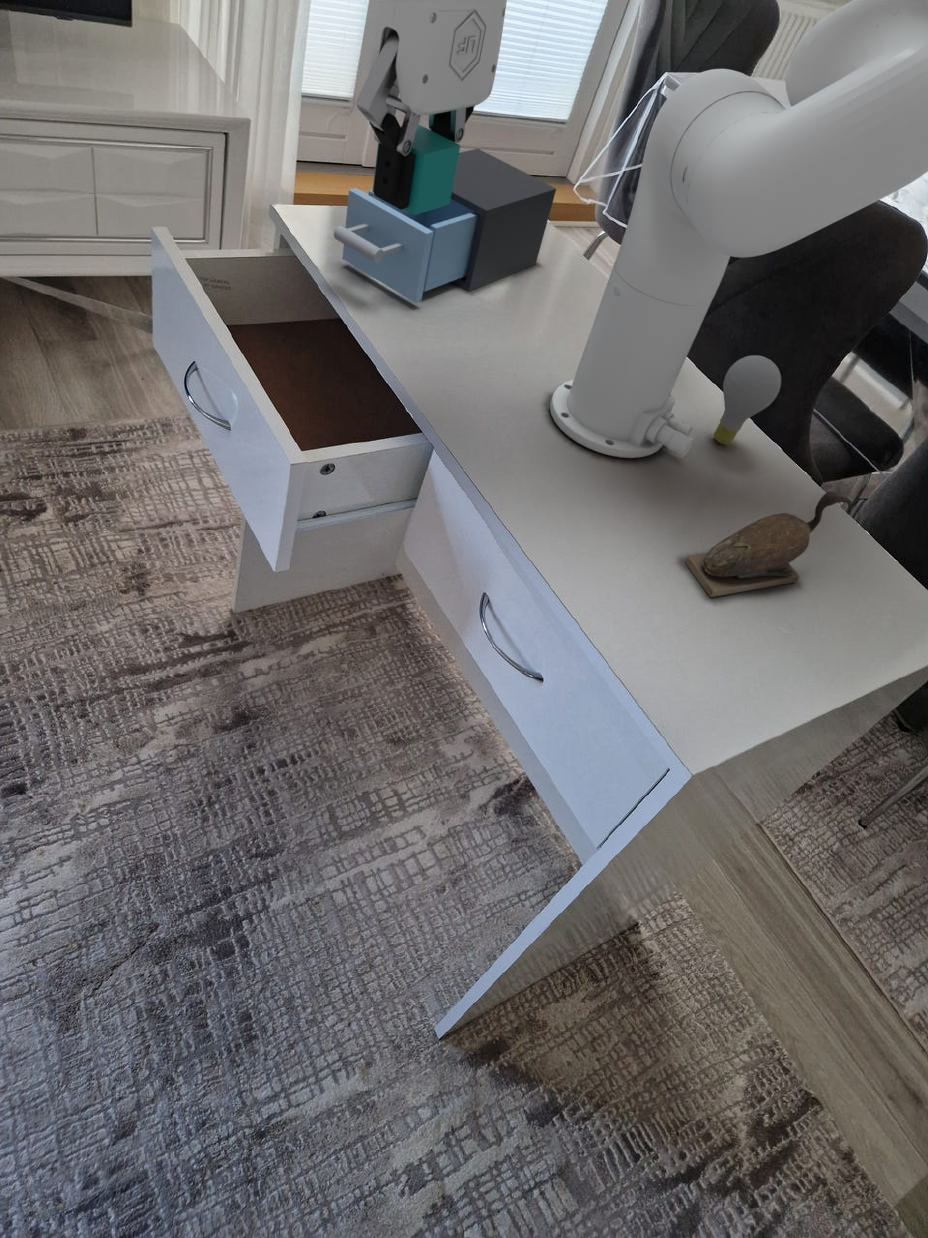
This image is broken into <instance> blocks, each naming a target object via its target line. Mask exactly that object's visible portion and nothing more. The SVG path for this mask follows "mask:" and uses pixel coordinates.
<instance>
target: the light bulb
mask: <svg viewBox="0 0 928 1238" xmlns="http://www.w3.org/2000/svg"><path fill="white" fill-rule="evenodd" d="M781 385H782V376H781V371H780V369H779V368H778V366H777V365H776V363H775V362H773V361H772V360H771V359H769V358H767V357H766V356H762V355H759V354H758V355H757V354H756V355H753V354H752V355H747V356H744V357H742V358H739V359H738V360H737V361H736V362H734V363H733V364H732V365H731V366H730V367H729V368H728V370H727V371H726V374H725V376H724V379H723V384H722V394H723V403H724V412H723V414H722V416H721V417H720V420H719V423H718V424H717V425H718V426H717V427H716V429H715V430H714V433H713V438H714V439H715V440H716V441H717V442H718V444H721V445H729V444H732V442H733V441H734V439H735V437H736V436H737V433H738V432H739V431H740V430H741V429H742V427H743V425H744V423H745V422H746V421H747V420H748V419H750V418H751V417H753V416H755V415H757V414H758V413H760V412H762V411H763V410H765V409H766V408H768V407H769V406H771V404H773V402H774V401H775V400H776V399H777V396H778V395H779V393H780V390H781Z"/></svg>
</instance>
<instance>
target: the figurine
mask: <svg viewBox="0 0 928 1238" xmlns="http://www.w3.org/2000/svg"><path fill="white" fill-rule="evenodd" d="M839 503H844V504H847V506H848V508H847V512H846V515H850V513H851V511H852V507H853V502H852V500H851V499H850V498H849V497H847V496H845V495H842V494H838V493H836V492H835V491H827V492H826V493H824V494H823V495H822V497H820V499H819V501H818V502H817V504H816V506H815V510H814V517H813V518H812V519H811V520H810V521H807V522H806V521H804V520H803V519H801V518H800V517H798V516H797V515H794V514H791V513H788V512H780V513H775V514H771V515H768V516H764V517H762V518H760V519H758V520H756V521H753V522H751V523H750V524H748V525H746V526H744V527H743V528H741V529H739V530H737V531H736V532H734V533H732V534H730V535H729V536H727V537H725V538H724V539H722V540H721V541H719V542H718V543H716V544H715V545H714V546H712V547H711V549H709V551H708V552H704V553H699V554H698V553H697V554H692V555H691V554H690V555H687V557H686V559H685V561H684V563H685V564H686V566H687V568H688V569H689V570H690V571H691V573H692V574H693V576H694V577H695V578H696V580H697V581H698V583H699V584H700V585H701V587H702V588H703V589H704V590H705V592H706V593H707V595H708V596H709V597H710V598H714V597H720V596H724V595H725V596H726V595H731V594H735V593H736V594H737V593H742V592H747V591H753V590H759V589H764V588H769V587H775V586H781V585H787V584H792V583H793V584H794V583H796V582H797V581H798V579H799V578H800V575H799V574H798V573H797V572H796V570H795V569H794V568H793V567H792V566H791V564H789V563H791V562H792V561H794V560H796V559H797V558H799V557H800V556H801V555H803V553H805V552H806V550H807V549H808V547H809V545H810V538H811V533H812V532H813V531H814V530H815V529H816V528H817V527H818V525H819V524H820V523H821V520H822V516H823V512H824V510H825V509H826V508H827V507H829V506H833V505H836V504H839Z"/></svg>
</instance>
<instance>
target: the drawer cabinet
mask: <svg viewBox="0 0 928 1238" xmlns="http://www.w3.org/2000/svg"><path fill="white" fill-rule="evenodd" d="M556 191H557V188H556V187H554V186H552V185H550V184H548V183H546V182H545V181H543V180H540V179H538V178H537V177H534V176H533V175H531V174H529V173H528V172H526V171H523V170H521V169H519V168H517V167H515V166H514V165H511V164H509V163H507V162H505V161H503V160H502V159H499V158H498V157H495V156H493V155H492V154H490V153H488V152H486V151H484V150H482V149H480V148H475V149H469V150H465V151H461V152H459V156H458V161H457V166H456V172H455V177H454V182H453V188H452V193H451V198H450V199H452V200H454V201H456V202H458V203H459V204H461V205H463V206H465V207H467V208H469V209H471V210H472V211H474V212H476V213H478V214H480V217H479V221H478V226H477V231H476V236H475V240H474V245H473V250H472V254H471V259H470V264H469V268H468V273H467V276H464V277H461V278H459V279H456V280H454V281H451V282H452V283H453V284H455V285H457V286H459V287H461V288H462V289H464V290H465V291H467V292H472V291H475V290H476V289H479V288H481V287H483V286H487V285H488V284H490V283H493V282H496V281H498V280H501V279H503V278H505V277H508V276H510V275H513V274H515V273H517V272H520V271H522V270H525V269H527V268H529V267H532V266H535V265H536V264H537V262H538V257H539V254H540V249H541V246H542V243H543V239H544V236H545V232H546V229H547V224H548V221H549V217H550V213H551V211H552V207H553V203H554V199H555V195H556Z"/></svg>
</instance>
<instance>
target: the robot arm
mask: <svg viewBox="0 0 928 1238" xmlns="http://www.w3.org/2000/svg"><path fill="white" fill-rule="evenodd" d="M507 2H508V0H375V5H374V9H373V18H372V22H371V23H372V24H371V31H370V40H369V49H368V50H369V51H368V62H367V63H368V64H367V78H366V80H365V82H364V84H363V86H362V88H361V90H360V92H359V93H358V96H357V99H356V108H357V109H358V110H359V112H360V113H361V114H362V115H363V116H364V117H365V118H366V120H368V123H369V125H370V127H371V128H372V130H373V132H374V134H373V138H374V141H375V142H376V143H377V144H378V143H379V147H378V146H377V149H378V155H377V154H376V158H377V164H376V163H375V166H376V172H375V171H374V175H375V180H374V179H373V183H374V189H373V188H372V190H373V191H374V194H375V196H376V197H378V198H380V199H382V200H384V201H385V202H387V203H389V204H391V205H393V206H395V207H397V208H398V209H401V210H402V209H405V208H407V207H408V205H409V198H410V192H411V185H412V178H413V172H414V165H415V159H416V155H414V154H412V153H410V151H411V149H412V146H413V142H414V138H415V135H416V131H417V128H418V124H419V125H420V120H421V117H422V116H428V129H429V130H431V131H433V132H435V133H437V134H439V135H441V136H443V137H445V138H447V139H449V140H451V141H453V142H455V143H457V144H460V143H461V142H462V140H463V139H464V136H465V132H466V124H467V122H468V121H469V119H470V117H471V116H472V114H473V112H474V110H475V107H476V106H477V105H480V104H482V103H483V102H486V100H487V99H488V98H489V97H490V96H491V94H492V91H493V87H494V83H495V79H496V78H495V77H496V72H497V68H498V63H499V56H500V49H501V44H502V39H503V31H504V23H505V17H506V11H507V10H506V9H507ZM786 68H787V69H786V73H785V91H786V94H787V99H788V101H789V104H790V107H788V108H785V107H784V105H783V104H782V103H781V102H780V101H779V100H778V99H777V98H776V97H775V96H773V95H772V94H771V93H770V92H769V91H768V90H767V89H766V88H765V87H764V86H762V85H761V84H760V83H759V82H758V81H757V80H756V79H753V78H752V77H750V76H749V75H747V74H745V73H743V72H741V71H737V70H735V69H734V70H733V69H728V68H713V69H708V70H704V71H702V72H699V73H696V74H695V75H693V76H691V77H689V78H687V79H686V80H685V81H684V82H682V83H680V85H679V86H677V87H676V89H673V91H672V92H671V94H670V95H669V96H668V97H667V99H666V100H665V101H664V102H663V104H662V106H661V107H660V109H659V111H658V113H657V115H656V117H655V119H654V121H653V123H652V125H651V126H652V127H651V128H650V132H649V134H648V138H647V141H646V145H645V149H644V153H643V157H642V158H643V159H642V163H641V167H640V173H639V178H638V183H637V186H636V187H637V188H636V192H635V196H634V199H633V204H632V208H631V211H630V215H629V218H628V222H627V226H626V228H625V231H624V234H623V237H622V240H621V243H620V245H619V248H618V251H617V255H616V258H615V261H614V263H613V265H612V268H611V271H610V274H609V277H608V280H607V282H606V286H605V289H604V291H603V294H602V297H601V300H600V303H599V306H598V309H597V312H596V314H595V317H594V319H593V324H592V326H591V329H590V331H589V335H588V337H587V341H586V343H585V346H584V349H583V351H582V352H583V353H582V354H581V358H580V361H579V363H578V366H577V369H576V373H575V375H574V378H573V379H570V380H568V381H565V382H563V383H562V384H560V385H559V386H557V387H556V389H555V390H554V391H553V394H552V396H551V399H550V403H549V411H550V415H551V417H552V419H553V421H554V423H555V424H556V425H557V427H558V428H559V429H560V430H561V431H562V432H563V433H564V434H565V435H566V436H567V437H569V438H570V439H572V440H573V441H575V442H576V443H577V444H579V445H581V446H583V447H585V448H586V449H589V450H591V451H594V452H596V453H600V454H603V455H606V456H609V457H615V458H623V459H624V458H625V459H635V458H644V457H647V456H650V455H653V454H654V453H657V452H658V451H659V450H661V448H662V447H663V446H664V447H666V448H667V449H668V450H670V451H671V452H673V453H675V454H677V455H678V456H680V457H681V458H684V457H685V456H686V455H687V453H688V452H689V451H690V450H691V448H692V446H693V445H694V439H693V438H691V437H689V436H690V434H691V433H692V432H693V427H692V426H691V425H689V424H688V423H686V422H684V421H681V420H679V419H678V418H676V417H675V413H673V412H672V410H673V408H674V406H675V404H676V401H677V398H675V397H673V396H671V395H670V394H671V392H672V390H673V388H674V386H675V383H676V381H677V379H678V377H679V374H680V373H681V370H682V368H683V366H684V364H685V361H686V359H687V357H688V355H689V352H690V350H691V348H692V345H693V344H694V341H695V339H696V337H697V335H698V333H699V330H700V328H701V325H702V323H703V321H704V319H705V317H706V315H707V313H708V310H709V308H710V306H711V304H712V301H713V299H714V298H715V296H716V294H717V292H718V289H719V287H720V285H721V282H722V280H723V277H724V275H725V273H726V269H727V267H728V265H729V261H730V258H731V257H733V258H743V259H744V258H752V257H759V256H763V255H766V254H769V253H772V252H776V251H779V250H780V249H783V248H785V247H787V246H790V245H791V244H794V243H796V242H798V241H800V240H802V239H804V238H806V237H809V236H810V235H812V234H815V233H816V232H819V231H820V230H823V229H824V228H826V227H828V226H830V225H832V224H834V223H837V222H839V221H841V220H842V219H844V218H846V217H848V216H850V215H852V214H854V213H856V212H858V211H860V210H862V209H864V208H867V207H868V206H870V205H872V204H874V203H876V202H878V201H879V200H882V199H884V198H886V197H888V196H891V195H892V194H893V193H895V192H898V191H899V190H901V189H902V188H905V187H906V186H908V185H910V184H911V183H913V182H915V181H917V180H918V179H920V178H921V177H923V175H925V174H926V173H928V0H850V1H849V2H848V3H846V4H844V5H842V6H840V7H839V8H837V9H835V10H834V11H833V12H830V13H829V14H827V15H826V16H824V17H823V18H821V19H820V20H818V21H817V23H816V24H814V25H813V26H811V28H810V29H809V30H808V31H807V32H806V33H805V34H804V35H803V37H802V38H801V40H799V42H798V44H796V47H795V48H794V50H793V51H792V53H791V55H790V59H789V61H788V65H787V67H786ZM397 111H399V112H401V113H404V117H403V119H402V124H401V125H400V122H399V121H398V119H397V117H396V113H397ZM401 126H402V128H401Z"/></svg>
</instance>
